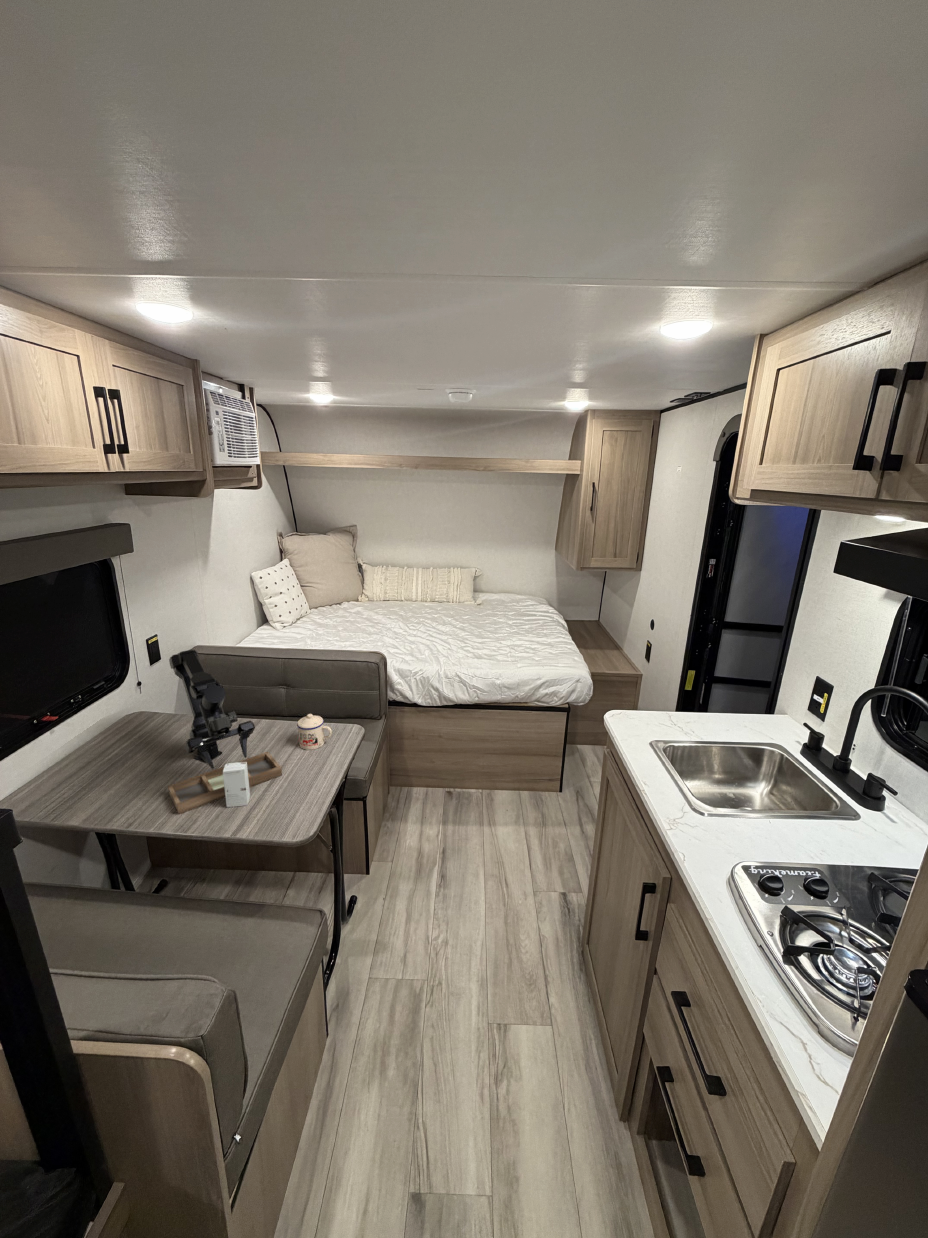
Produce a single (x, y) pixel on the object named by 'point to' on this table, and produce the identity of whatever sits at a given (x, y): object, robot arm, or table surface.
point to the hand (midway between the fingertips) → (229, 762)
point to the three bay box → (220, 783)
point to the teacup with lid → (312, 732)
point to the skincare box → (236, 784)
